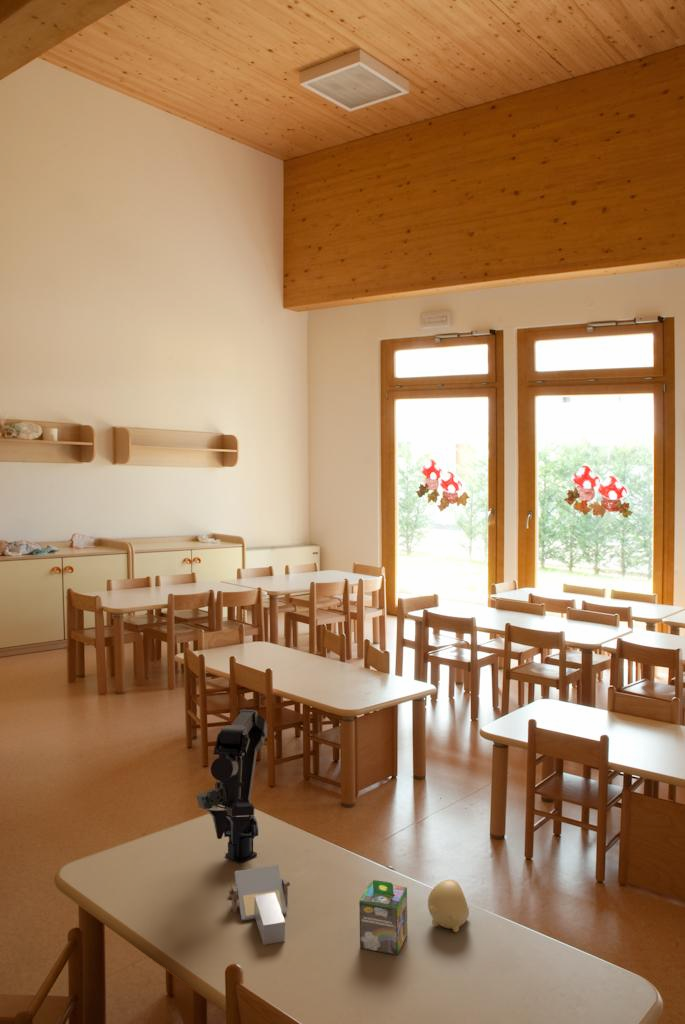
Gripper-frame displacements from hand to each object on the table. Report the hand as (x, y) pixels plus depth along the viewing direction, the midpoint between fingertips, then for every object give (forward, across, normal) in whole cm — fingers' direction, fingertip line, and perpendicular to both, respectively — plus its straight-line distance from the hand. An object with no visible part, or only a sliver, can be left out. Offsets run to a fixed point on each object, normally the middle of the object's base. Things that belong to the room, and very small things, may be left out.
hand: (226, 841), depth 215 cm
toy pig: (+15, +40, +41) cm, 59 cm away
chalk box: (+18, +37, +24) cm, 47 cm away
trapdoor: (+13, +8, +6) cm, 16 cm away
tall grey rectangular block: (+12, +15, +4) cm, 20 cm away
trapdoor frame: (+13, +7, +6) cm, 16 cm away
